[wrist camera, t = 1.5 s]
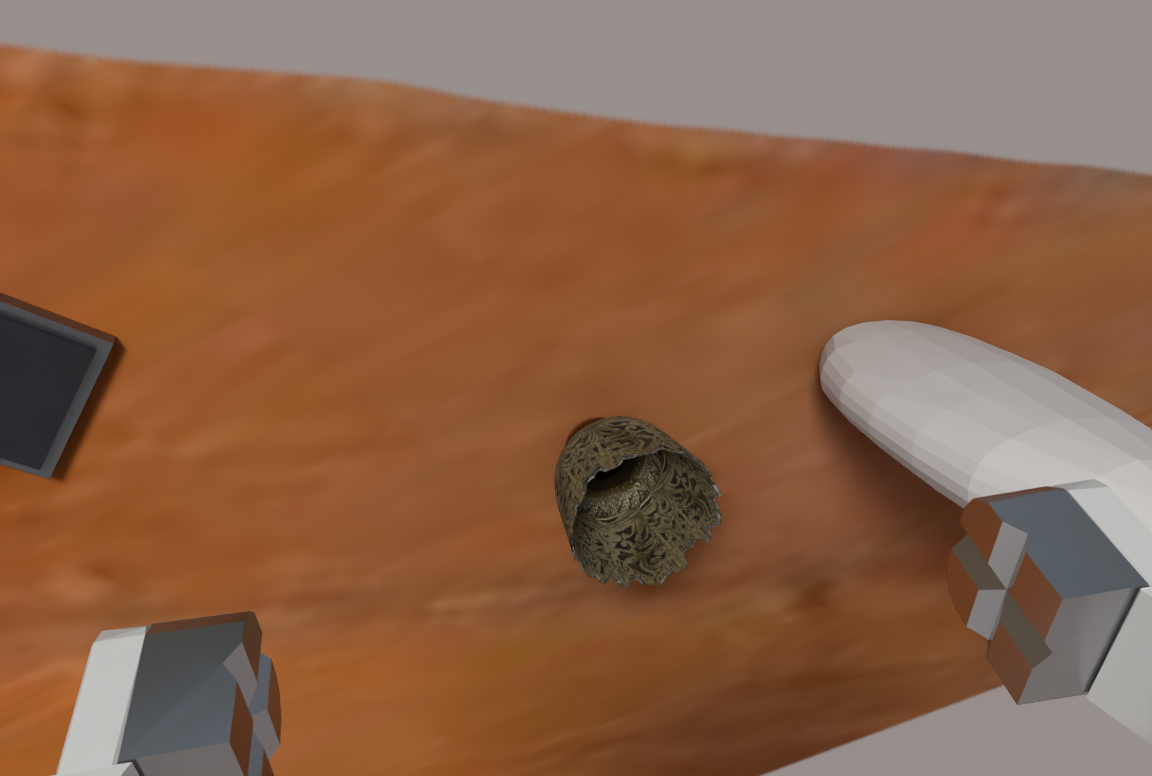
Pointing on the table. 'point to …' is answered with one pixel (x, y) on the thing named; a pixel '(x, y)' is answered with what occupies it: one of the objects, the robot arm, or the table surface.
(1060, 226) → the table surface
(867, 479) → the table surface
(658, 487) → the cup
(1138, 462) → the soap bottle
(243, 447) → the table surface
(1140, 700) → the robot arm
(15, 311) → the ink pad
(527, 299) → the table surface
